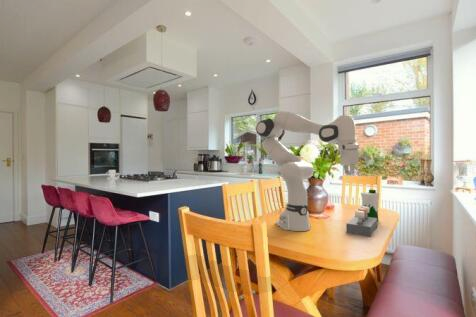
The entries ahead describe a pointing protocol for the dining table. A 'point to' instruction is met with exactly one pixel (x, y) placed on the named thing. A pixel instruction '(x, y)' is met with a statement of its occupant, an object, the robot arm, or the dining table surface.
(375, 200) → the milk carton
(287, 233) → the dining table surface
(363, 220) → the terracotta knob
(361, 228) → the console
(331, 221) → the dining table surface
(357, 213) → the white knob
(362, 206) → the white knob
